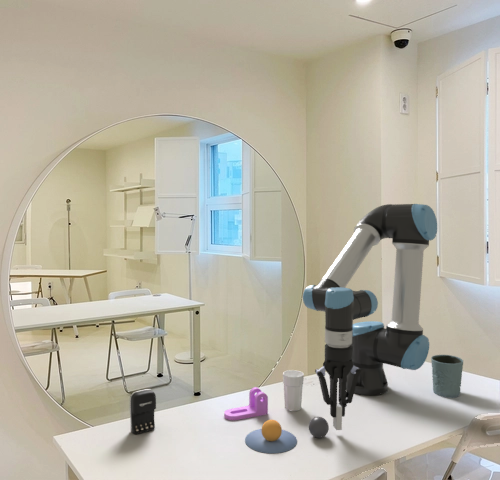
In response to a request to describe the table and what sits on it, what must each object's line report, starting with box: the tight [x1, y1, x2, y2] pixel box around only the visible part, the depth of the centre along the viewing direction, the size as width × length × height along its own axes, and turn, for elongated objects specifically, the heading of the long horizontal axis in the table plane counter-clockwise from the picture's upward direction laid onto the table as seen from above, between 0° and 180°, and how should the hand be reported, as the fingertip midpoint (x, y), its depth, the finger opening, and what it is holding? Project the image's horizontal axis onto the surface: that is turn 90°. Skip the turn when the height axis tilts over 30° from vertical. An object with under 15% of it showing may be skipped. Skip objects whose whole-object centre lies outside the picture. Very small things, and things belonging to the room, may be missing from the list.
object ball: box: [260, 419, 283, 441], centre depth 130 cm, size 6×6×6 cm
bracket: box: [223, 386, 269, 421], centre depth 147 cm, size 13×6×7 cm, turn 114°
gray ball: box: [308, 416, 330, 439], centre depth 132 cm, size 6×6×6 cm
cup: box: [282, 369, 305, 412], centre depth 152 cm, size 7×7×11 cm
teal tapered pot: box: [430, 354, 464, 399], centre depth 164 cm, size 10×10×12 cm
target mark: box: [244, 428, 298, 454], centre depth 130 cm, size 14×14×1 cm
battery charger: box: [129, 388, 157, 435], centre depth 135 cm, size 7×4×11 cm, turn 124°
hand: (337, 427), depth 134 cm, fingers closed
